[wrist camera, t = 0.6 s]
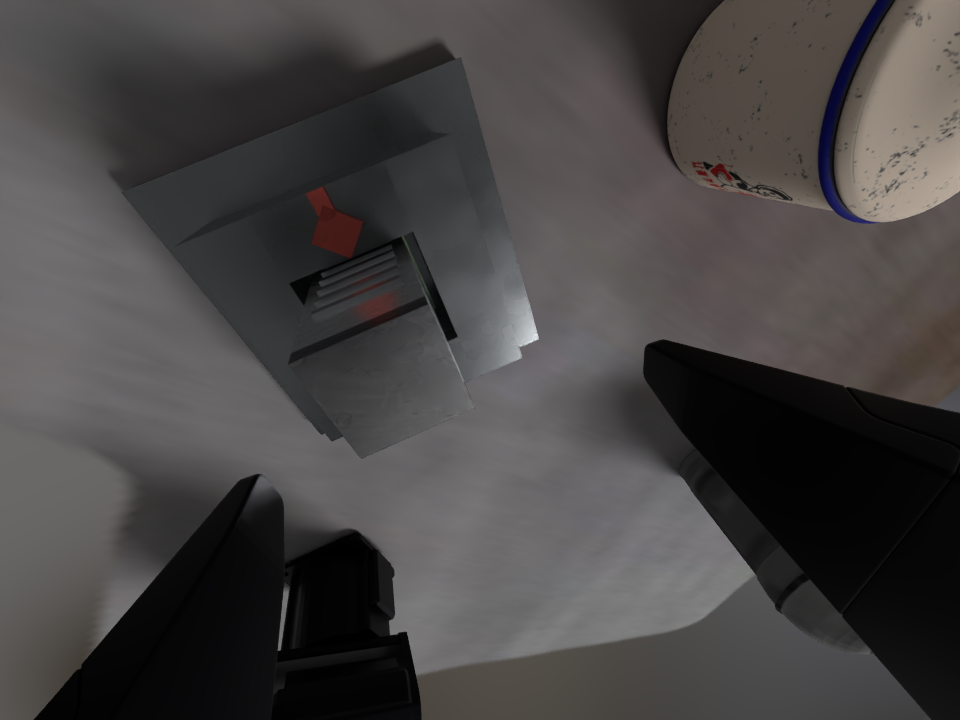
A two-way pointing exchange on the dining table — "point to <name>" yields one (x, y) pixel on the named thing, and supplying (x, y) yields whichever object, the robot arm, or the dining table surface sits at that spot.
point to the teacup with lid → (824, 104)
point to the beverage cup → (769, 560)
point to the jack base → (351, 222)
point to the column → (377, 350)
